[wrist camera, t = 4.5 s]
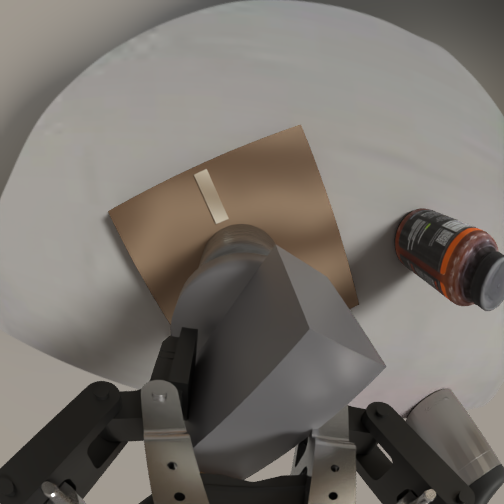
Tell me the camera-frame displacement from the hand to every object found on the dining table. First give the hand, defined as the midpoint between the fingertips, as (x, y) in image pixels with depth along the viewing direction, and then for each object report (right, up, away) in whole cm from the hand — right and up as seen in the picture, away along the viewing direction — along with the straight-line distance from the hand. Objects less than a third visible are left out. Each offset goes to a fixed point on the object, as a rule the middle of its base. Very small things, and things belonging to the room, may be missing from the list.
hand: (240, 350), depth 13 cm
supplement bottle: (+16, +6, +12) cm, 21 cm away
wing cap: (0, +1, +2) cm, 3 cm away
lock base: (0, +4, +11) cm, 12 cm away
